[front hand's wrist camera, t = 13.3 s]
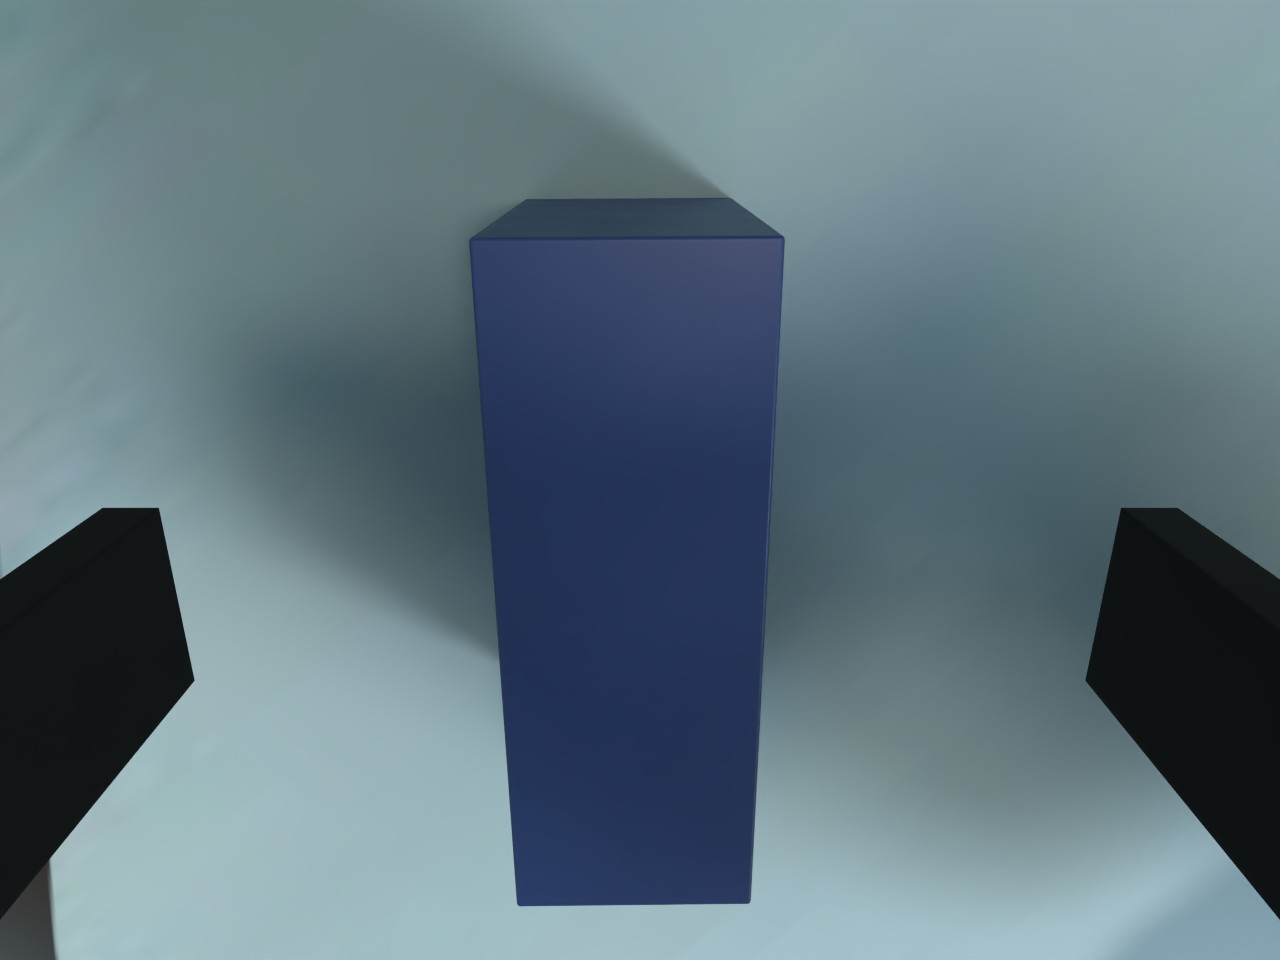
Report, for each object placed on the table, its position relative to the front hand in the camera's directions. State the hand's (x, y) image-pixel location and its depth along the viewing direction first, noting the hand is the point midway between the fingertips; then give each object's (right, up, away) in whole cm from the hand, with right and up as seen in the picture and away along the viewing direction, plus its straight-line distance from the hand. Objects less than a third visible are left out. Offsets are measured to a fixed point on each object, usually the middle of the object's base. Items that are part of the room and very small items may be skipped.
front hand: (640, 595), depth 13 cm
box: (0, +2, +24) cm, 24 cm away
